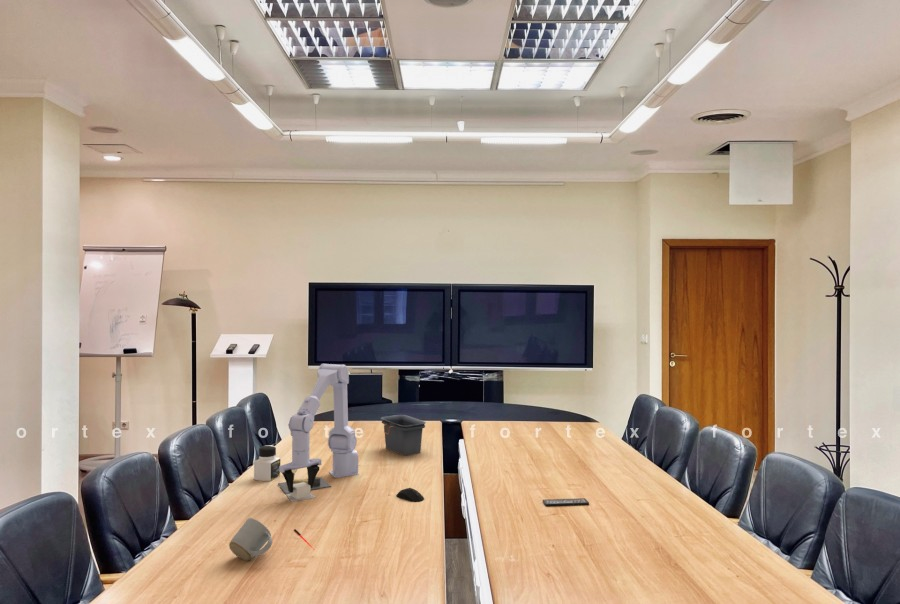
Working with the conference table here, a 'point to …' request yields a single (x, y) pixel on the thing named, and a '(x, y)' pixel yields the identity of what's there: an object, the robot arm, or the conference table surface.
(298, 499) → the felt pad
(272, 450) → the medicine bottle
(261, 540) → the ceramic mug
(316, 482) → the l-shaped bracket
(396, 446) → the storage bin
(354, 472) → the robot arm
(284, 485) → the base plate
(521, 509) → the conference table surface
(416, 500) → the gaming mouse
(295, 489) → the cream foam cube
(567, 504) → the multiport hub
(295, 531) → the pen
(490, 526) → the conference table surface
